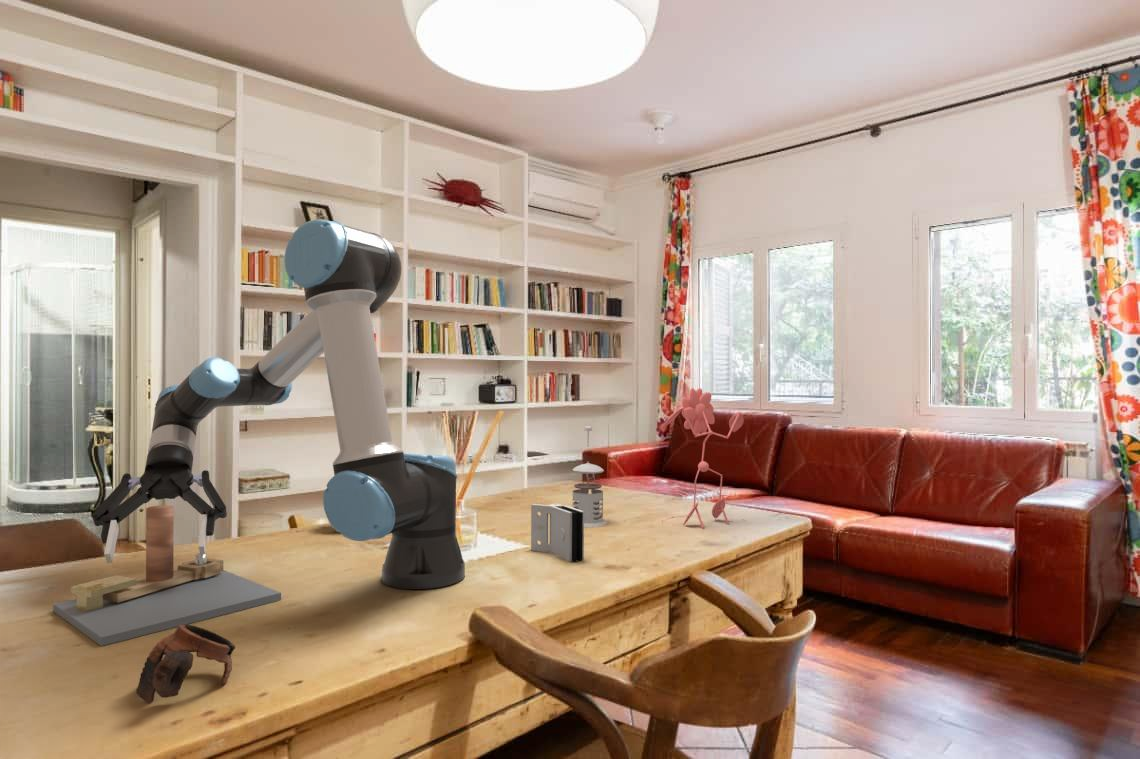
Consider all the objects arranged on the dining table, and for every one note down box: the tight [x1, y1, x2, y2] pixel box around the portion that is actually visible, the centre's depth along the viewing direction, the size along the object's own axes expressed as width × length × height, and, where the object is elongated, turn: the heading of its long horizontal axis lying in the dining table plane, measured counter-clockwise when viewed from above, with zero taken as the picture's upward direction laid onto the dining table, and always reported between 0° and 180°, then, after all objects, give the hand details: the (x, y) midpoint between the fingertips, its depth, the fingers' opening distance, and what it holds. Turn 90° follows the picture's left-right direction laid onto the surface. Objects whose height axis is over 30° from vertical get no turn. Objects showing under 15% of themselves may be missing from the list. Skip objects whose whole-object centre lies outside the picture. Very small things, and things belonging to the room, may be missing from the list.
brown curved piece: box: [136, 624, 236, 704], centre depth 82 cm, size 12×10×8 cm
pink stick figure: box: [660, 387, 747, 529], centre depth 181 cm, size 15×26×35 cm, turn 126°
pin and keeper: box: [70, 552, 208, 612], centre depth 116 cm, size 5×21×4 cm, turn 156°
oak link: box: [103, 504, 224, 603], centre depth 118 cm, size 19×6×13 cm, turn 158°
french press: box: [571, 425, 608, 528], centre depth 179 cm, size 10×12×25 cm
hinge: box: [530, 503, 585, 563], centre depth 147 cm, size 14×5×10 cm, turn 43°
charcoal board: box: [52, 569, 282, 647], centre depth 113 cm, size 22×26×1 cm
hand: (156, 554), depth 116 cm, fingers open, 13 cm apart
